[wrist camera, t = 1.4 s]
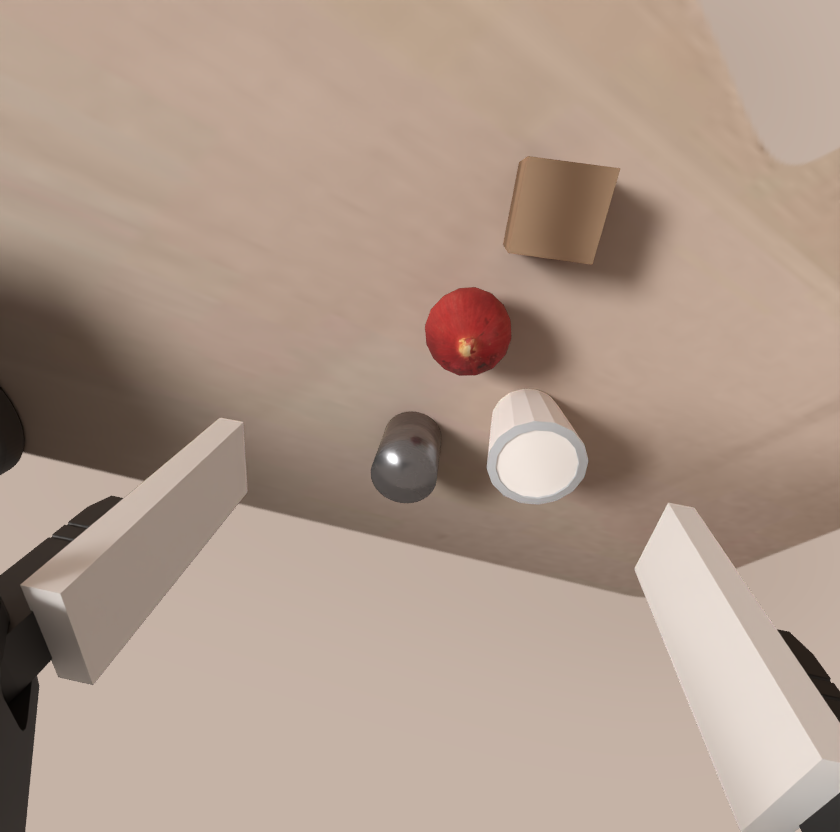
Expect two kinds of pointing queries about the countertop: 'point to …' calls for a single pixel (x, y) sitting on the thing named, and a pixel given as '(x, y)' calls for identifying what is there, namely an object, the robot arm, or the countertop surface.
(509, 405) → the white short cylinder
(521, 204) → the walnut block
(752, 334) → the countertop surface
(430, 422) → the metal tin
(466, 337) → the onion
